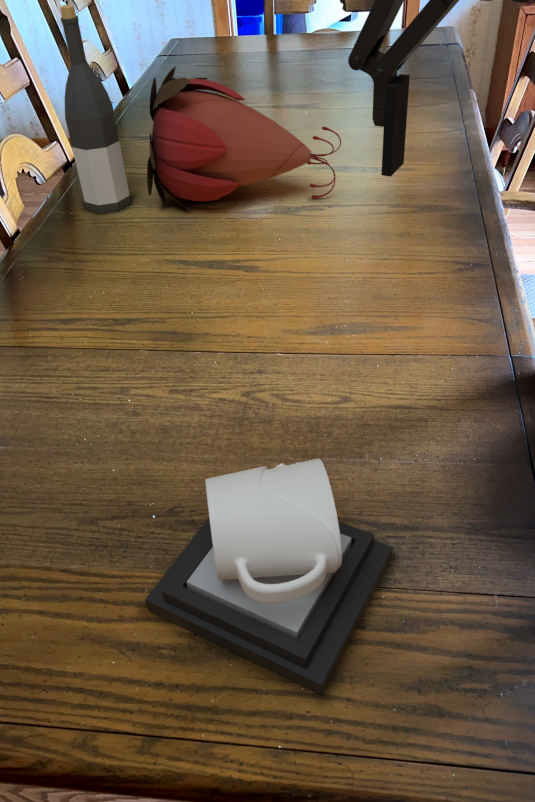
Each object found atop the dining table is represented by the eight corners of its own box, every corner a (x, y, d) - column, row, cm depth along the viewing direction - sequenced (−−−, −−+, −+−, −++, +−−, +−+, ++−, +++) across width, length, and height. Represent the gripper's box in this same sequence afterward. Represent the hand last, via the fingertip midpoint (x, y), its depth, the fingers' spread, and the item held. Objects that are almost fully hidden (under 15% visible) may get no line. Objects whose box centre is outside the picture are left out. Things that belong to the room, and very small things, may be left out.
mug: (212, 516, 62) (201, 450, 57) (317, 501, 63) (316, 434, 58) (225, 638, 53) (214, 572, 48) (348, 618, 54) (351, 551, 49)
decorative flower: (154, 227, 124) (326, 249, 121) (123, 144, 102) (333, 169, 99) (179, 121, 130) (344, 140, 127) (155, 20, 108) (353, 41, 105)
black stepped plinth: (392, 558, 62) (394, 536, 60) (322, 695, 53) (321, 674, 51) (234, 497, 68) (231, 475, 67) (147, 610, 59) (141, 589, 57)
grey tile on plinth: (351, 549, 61) (351, 537, 60) (297, 643, 54) (297, 632, 53) (249, 509, 65) (248, 498, 64) (188, 593, 58) (186, 581, 57)
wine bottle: (123, 214, 118) (83, 11, 99) (77, 213, 119) (28, 13, 100) (138, 193, 124) (103, -1, 105) (94, 193, 125) (51, 0, 106)
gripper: (807, -215, 36) (675, 189, 49) (349, -187, 46) (345, 142, 60) (808, -211, 31) (661, 236, 45) (296, -181, 41) (304, 176, 55)
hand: (480, 183), depth 52 cm, fingers open, 13 cm apart
